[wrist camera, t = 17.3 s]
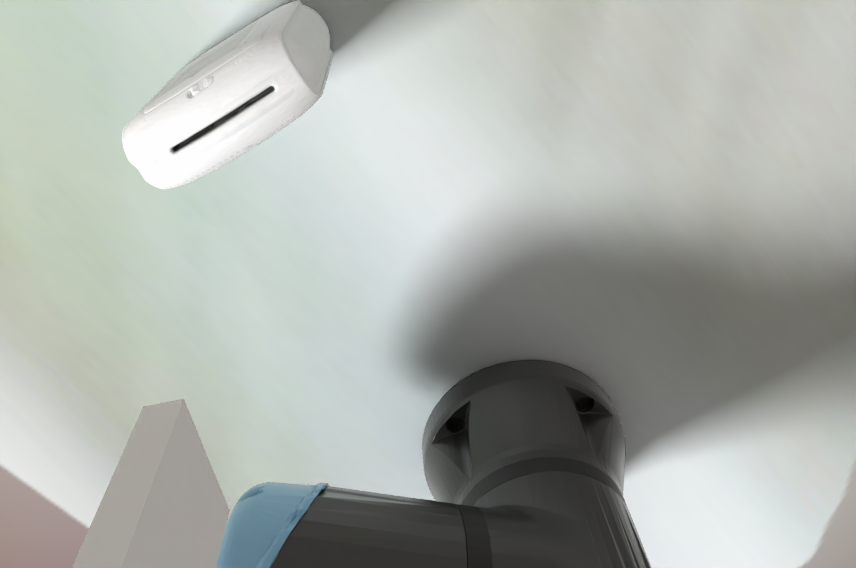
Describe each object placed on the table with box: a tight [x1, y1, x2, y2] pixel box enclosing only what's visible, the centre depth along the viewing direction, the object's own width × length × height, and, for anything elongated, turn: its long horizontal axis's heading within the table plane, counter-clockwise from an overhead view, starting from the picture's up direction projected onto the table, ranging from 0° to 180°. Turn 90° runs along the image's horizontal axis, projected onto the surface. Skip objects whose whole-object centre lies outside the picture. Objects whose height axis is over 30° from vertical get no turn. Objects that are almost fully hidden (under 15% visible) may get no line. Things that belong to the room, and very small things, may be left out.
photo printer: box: [122, 0, 333, 189], centre depth 41 cm, size 10×4×12 cm, turn 120°
